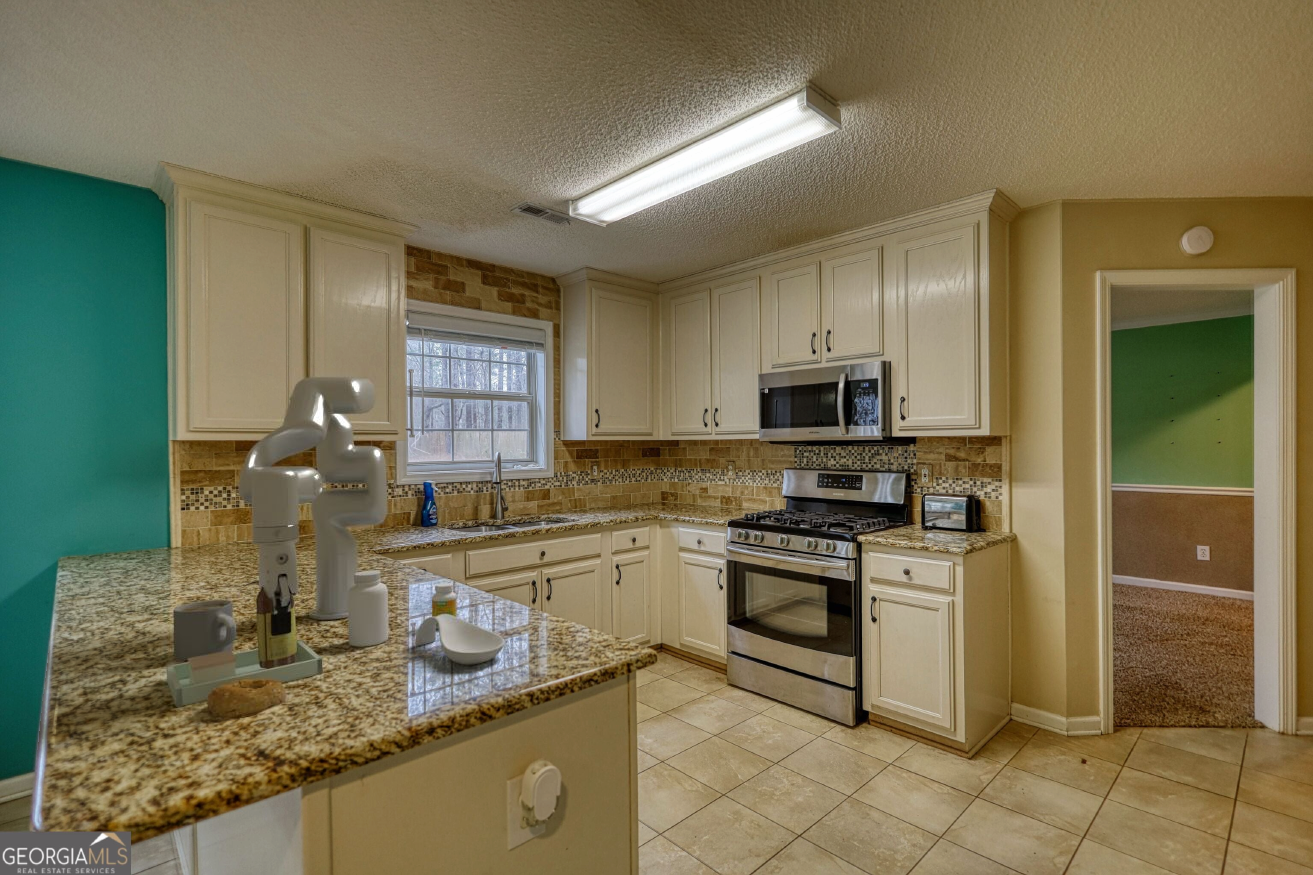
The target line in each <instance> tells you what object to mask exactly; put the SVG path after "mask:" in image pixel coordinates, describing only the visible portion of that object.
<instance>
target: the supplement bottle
mask: <svg viewBox="0 0 1313 875" xmlns="http://www.w3.org/2000/svg"><path fill="white" fill-rule="evenodd" d="M453 590H454V584H453V583H452V582H440V583H436V584H435V585H434V592H435V593H434V594H432V597H431V617H437V616H439V615H441V614H449V615H452V616H455V617H457V594H456V593H455V592H454V591H453ZM436 629H438V630H439V626H438V623H436Z"/></svg>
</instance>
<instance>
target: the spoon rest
mask: <svg viewBox="0 0 1313 875" xmlns="http://www.w3.org/2000/svg"><path fill="white" fill-rule="evenodd" d="M436 623H438V626H439V629H438V634H439V642H440V645H441V647H442V650H443V652H444V654H445V655H446V656H447V657H448V659H449V660H451V661H453V662H454V663H457V664H459V665H463V666H465V665H466V666H470V665H471V666H472V665H478V664H482V663H485V662H488V661H490V660H492V659H494V658H495V657H496V656H498V654H499V653H501V652H502V650H503V648H504V646H505V645H506V644H505V639H504V637H502V636H501V635H500V634H497V633H495V632H493V631H490V630H488V629H486V628H482V627H480V626H478V625H475V624H474V623H472V622H468V621H466V620H464V619H462V618H460V617H458V616H456V617H455V616H452V615H449V614H441V615H439V616H437V617H432V616H430V617H427V618H425V619H424V620H423V621H422V623H421V624H420V625H419V627H418V628H417V632H416V635H415V638H414V639H415V641H414V645H415V646H417V647H418V646H424V645H427V644H430V643H434V642H435V641H437V640H436V637H437V636H436V635H437V634H436V632H437V631H436Z"/></svg>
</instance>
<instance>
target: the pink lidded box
mask: <svg viewBox="0 0 1313 875" xmlns="http://www.w3.org/2000/svg"><path fill="white" fill-rule="evenodd" d="M233 653H234V652H233V650H232V651H231V650H229V651H223V652H218V653H213V654H208V655H202V656H197V657H192V658H188V660H187V662H188V663H189V684H190V686H191V685H196V684H200V683H205V682H210V681H214V680H219V679H224V678H228V677H233V676H235V662H237V658H236V657H235V655H234V654H233Z"/></svg>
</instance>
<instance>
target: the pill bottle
mask: <svg viewBox="0 0 1313 875" xmlns="http://www.w3.org/2000/svg"><path fill="white" fill-rule="evenodd" d="M381 577H382V576H381V571H380V570H377V569H376V570H364V571H358V573H355V574H354V581H355V582H354V583H355V584H356V585H355V586H353V587H351V588H350V589H349V591H348V617H347V618H348V619H347V623H348V624H347V627H348V629H347V630H348V632H347V633H348V644H349V645H350V646H352V647H360V648H361V647H362V648H364V647H371V646H376V645H379V644H382V643H385V642H387V640H388V638H389V597H388V596H389V594H388V592H389V589H388V587H387V585H386V584H385V583H383V582H381V581H382V579H381Z"/></svg>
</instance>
